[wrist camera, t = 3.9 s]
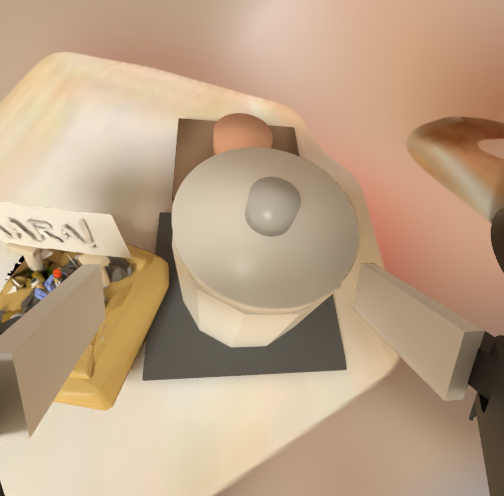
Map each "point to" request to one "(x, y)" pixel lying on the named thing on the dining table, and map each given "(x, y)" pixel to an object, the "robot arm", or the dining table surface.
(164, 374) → the mat
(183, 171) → the board
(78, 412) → the dining table surface
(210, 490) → the dining table surface
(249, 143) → the egg
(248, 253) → the pot with lid
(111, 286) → the cake
